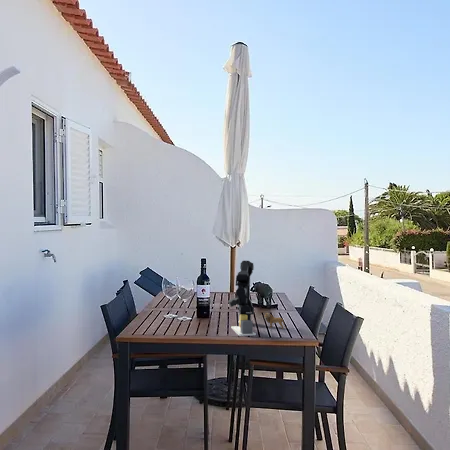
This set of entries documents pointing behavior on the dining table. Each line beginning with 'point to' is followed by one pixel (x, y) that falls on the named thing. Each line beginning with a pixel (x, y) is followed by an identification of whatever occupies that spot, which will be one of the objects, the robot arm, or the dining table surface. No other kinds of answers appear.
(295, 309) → the dining table surface
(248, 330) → the cord rail
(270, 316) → the lion figurine
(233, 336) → the dining table surface
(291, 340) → the dining table surface
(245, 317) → the yellow pegged block
